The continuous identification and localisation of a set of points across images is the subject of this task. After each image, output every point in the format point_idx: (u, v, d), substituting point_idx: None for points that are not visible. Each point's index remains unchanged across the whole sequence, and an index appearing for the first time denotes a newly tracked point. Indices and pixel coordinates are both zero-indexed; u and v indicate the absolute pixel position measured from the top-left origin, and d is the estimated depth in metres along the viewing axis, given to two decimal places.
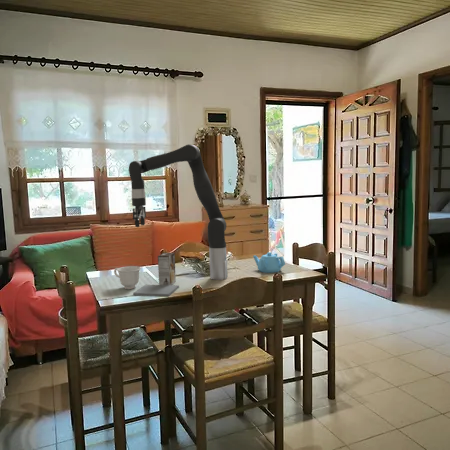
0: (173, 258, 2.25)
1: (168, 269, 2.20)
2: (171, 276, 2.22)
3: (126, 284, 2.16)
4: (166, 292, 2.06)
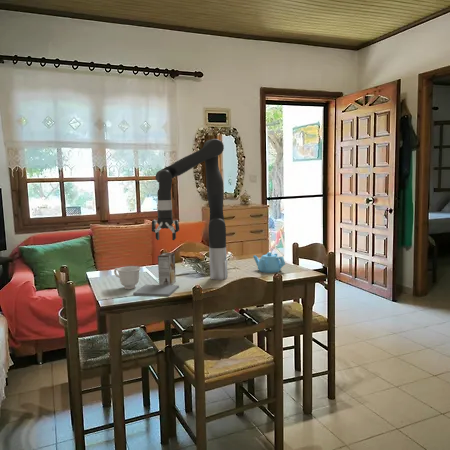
0: (173, 258, 2.25)
1: (168, 269, 2.20)
2: (171, 276, 2.22)
3: (126, 284, 2.16)
4: (166, 292, 2.06)
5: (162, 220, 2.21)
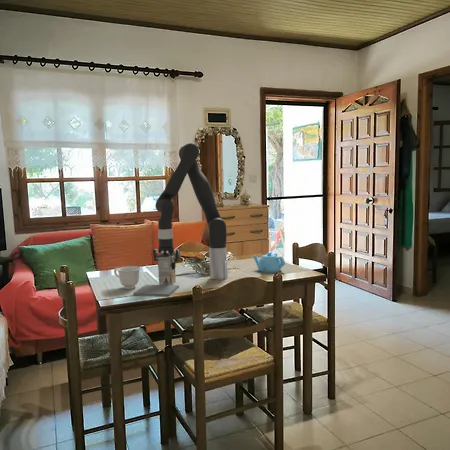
0: None
1: (168, 269, 2.20)
2: (171, 276, 2.22)
3: (126, 284, 2.16)
4: (166, 292, 2.06)
5: (163, 248, 2.22)
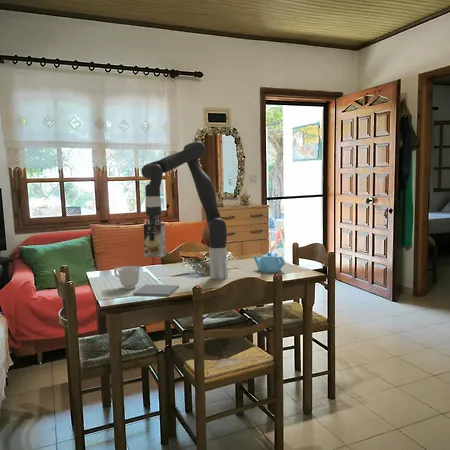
0: None
1: (164, 237, 2.11)
2: None
3: (126, 284, 2.16)
4: (166, 292, 2.06)
5: (155, 217, 2.07)
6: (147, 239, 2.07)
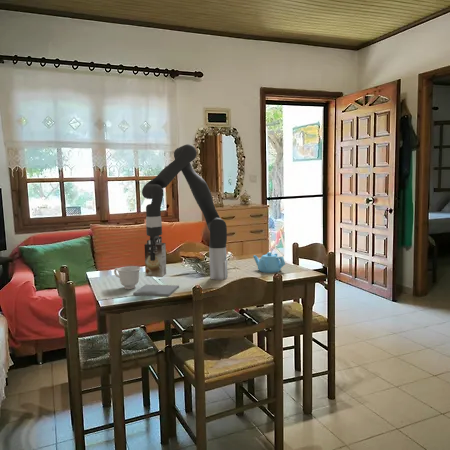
0: None
1: (165, 256, 2.12)
2: None
3: (126, 284, 2.16)
4: (166, 292, 2.06)
5: (155, 237, 2.08)
6: (148, 259, 2.08)
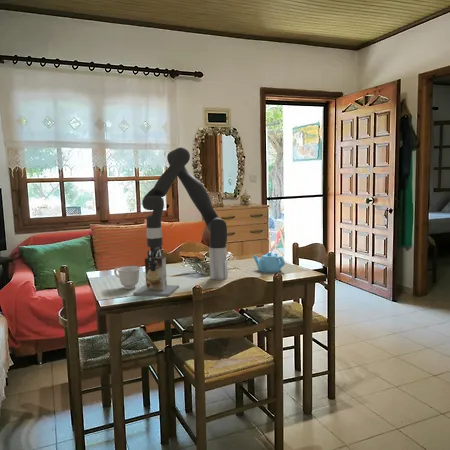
0: None
1: (165, 270, 2.13)
2: None
3: (126, 284, 2.16)
4: (166, 292, 2.06)
5: (156, 248, 2.09)
6: (148, 273, 2.09)
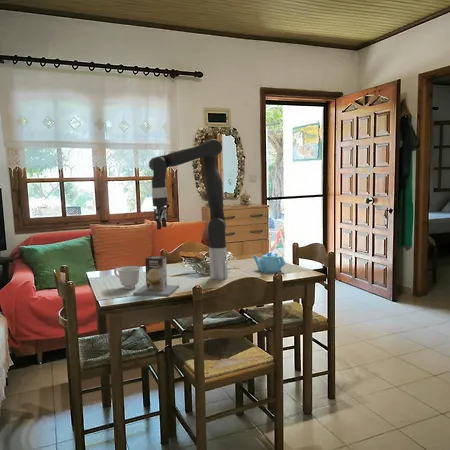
0: None
1: (166, 270, 2.13)
2: None
3: (126, 284, 2.16)
4: (166, 292, 2.06)
5: (162, 208, 2.17)
6: (149, 273, 2.09)
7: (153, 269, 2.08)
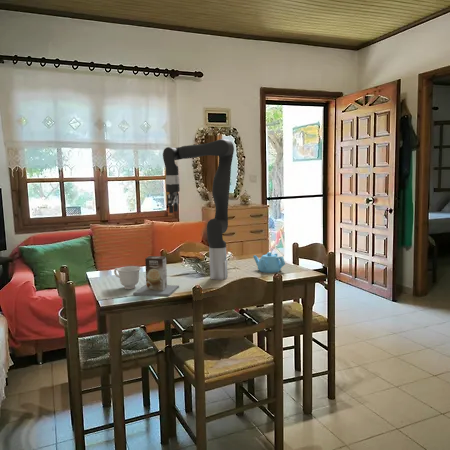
0: None
1: (166, 270, 2.13)
2: None
3: (126, 284, 2.16)
4: (166, 292, 2.06)
5: (174, 194, 2.40)
6: (149, 273, 2.09)
7: (153, 269, 2.08)
